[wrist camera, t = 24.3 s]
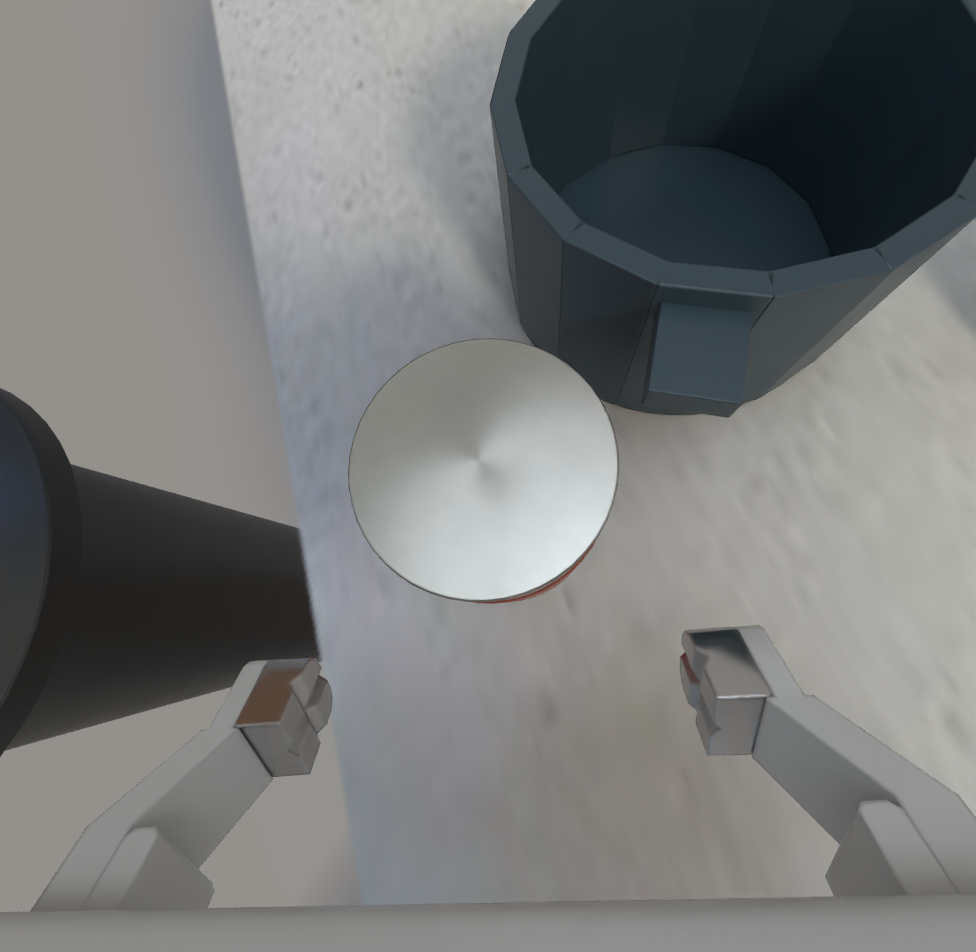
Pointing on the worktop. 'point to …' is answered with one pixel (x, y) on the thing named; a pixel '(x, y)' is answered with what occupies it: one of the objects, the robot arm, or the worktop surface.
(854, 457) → the worktop surface
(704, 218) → the pot
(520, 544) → the can
